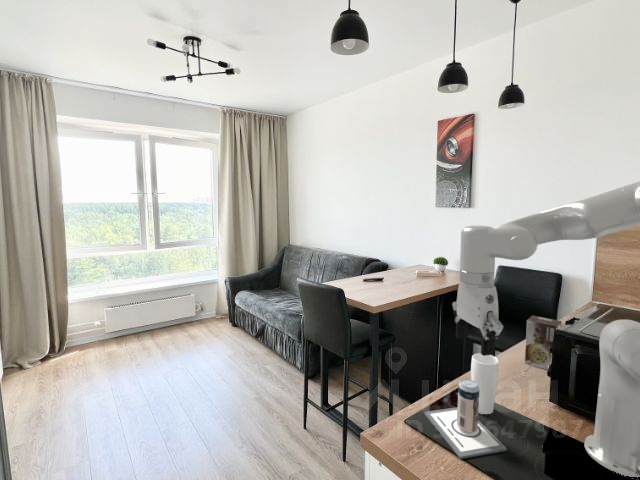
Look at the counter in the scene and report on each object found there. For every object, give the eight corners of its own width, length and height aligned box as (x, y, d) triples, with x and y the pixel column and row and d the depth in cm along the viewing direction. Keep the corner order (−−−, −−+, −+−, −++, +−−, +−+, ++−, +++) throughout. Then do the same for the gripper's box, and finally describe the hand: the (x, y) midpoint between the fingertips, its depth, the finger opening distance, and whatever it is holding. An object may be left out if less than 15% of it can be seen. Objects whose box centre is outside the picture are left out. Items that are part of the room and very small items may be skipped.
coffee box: (559, 365, 119) (562, 321, 116) (554, 372, 114) (558, 326, 112) (529, 357, 125) (532, 314, 123) (523, 363, 121) (526, 319, 119)
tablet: (506, 450, 80) (506, 447, 80) (460, 459, 78) (460, 456, 77) (463, 408, 96) (464, 405, 96) (424, 414, 94) (424, 411, 93)
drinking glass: (499, 419, 91) (502, 365, 89) (472, 416, 92) (474, 363, 90) (492, 403, 98) (495, 354, 96) (466, 401, 99) (469, 352, 97)
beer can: (479, 435, 84) (482, 389, 82) (459, 433, 85) (461, 387, 83) (474, 422, 89) (476, 378, 87) (454, 420, 89) (456, 377, 88)
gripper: (517, 285, 75) (513, 360, 77) (467, 269, 91) (465, 330, 93) (487, 288, 73) (484, 364, 75) (442, 271, 90) (440, 333, 92)
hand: (474, 345), depth 84 cm, fingers open, 9 cm apart
